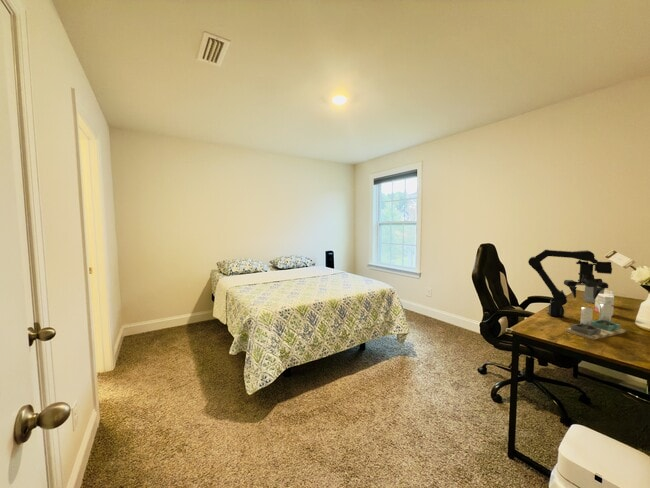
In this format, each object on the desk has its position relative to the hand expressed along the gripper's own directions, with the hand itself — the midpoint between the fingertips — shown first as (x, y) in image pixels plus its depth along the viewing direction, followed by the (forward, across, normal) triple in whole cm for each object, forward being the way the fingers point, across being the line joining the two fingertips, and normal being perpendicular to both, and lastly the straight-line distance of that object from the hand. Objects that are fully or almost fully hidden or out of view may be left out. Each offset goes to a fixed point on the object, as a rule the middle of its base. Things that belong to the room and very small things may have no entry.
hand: (584, 298), depth 165 cm
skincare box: (+13, +25, +45) cm, 53 cm away
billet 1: (+12, -10, -25) cm, 29 cm away
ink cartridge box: (+13, +18, +18) cm, 29 cm away
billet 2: (+12, +3, -15) cm, 19 cm away
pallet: (+13, -3, -20) cm, 24 cm away
